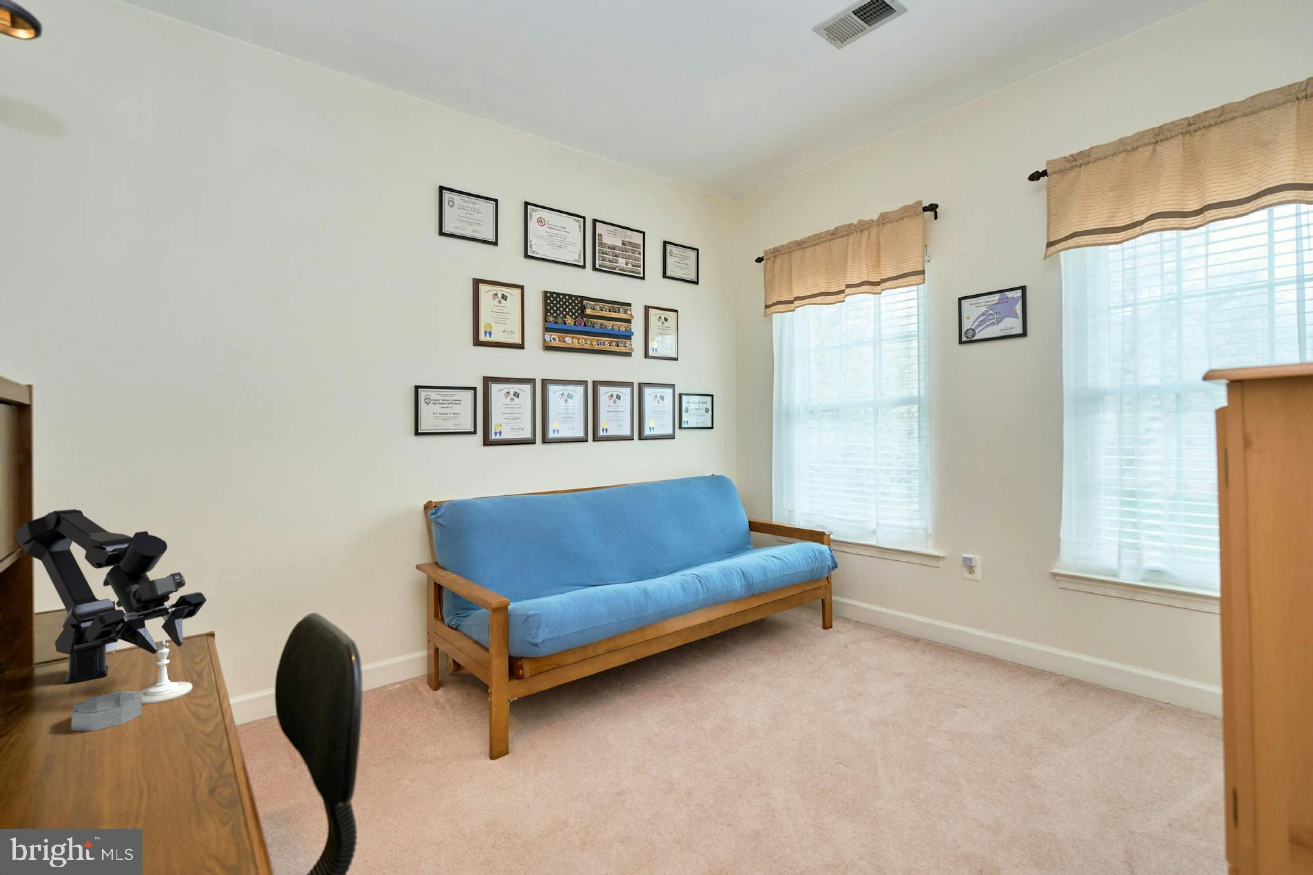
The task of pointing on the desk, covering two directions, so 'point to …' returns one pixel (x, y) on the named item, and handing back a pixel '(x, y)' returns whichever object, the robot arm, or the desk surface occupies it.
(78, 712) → the ring collar
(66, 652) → the robot arm
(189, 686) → the felt pad
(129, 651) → the desk surface
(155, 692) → the chess piece
